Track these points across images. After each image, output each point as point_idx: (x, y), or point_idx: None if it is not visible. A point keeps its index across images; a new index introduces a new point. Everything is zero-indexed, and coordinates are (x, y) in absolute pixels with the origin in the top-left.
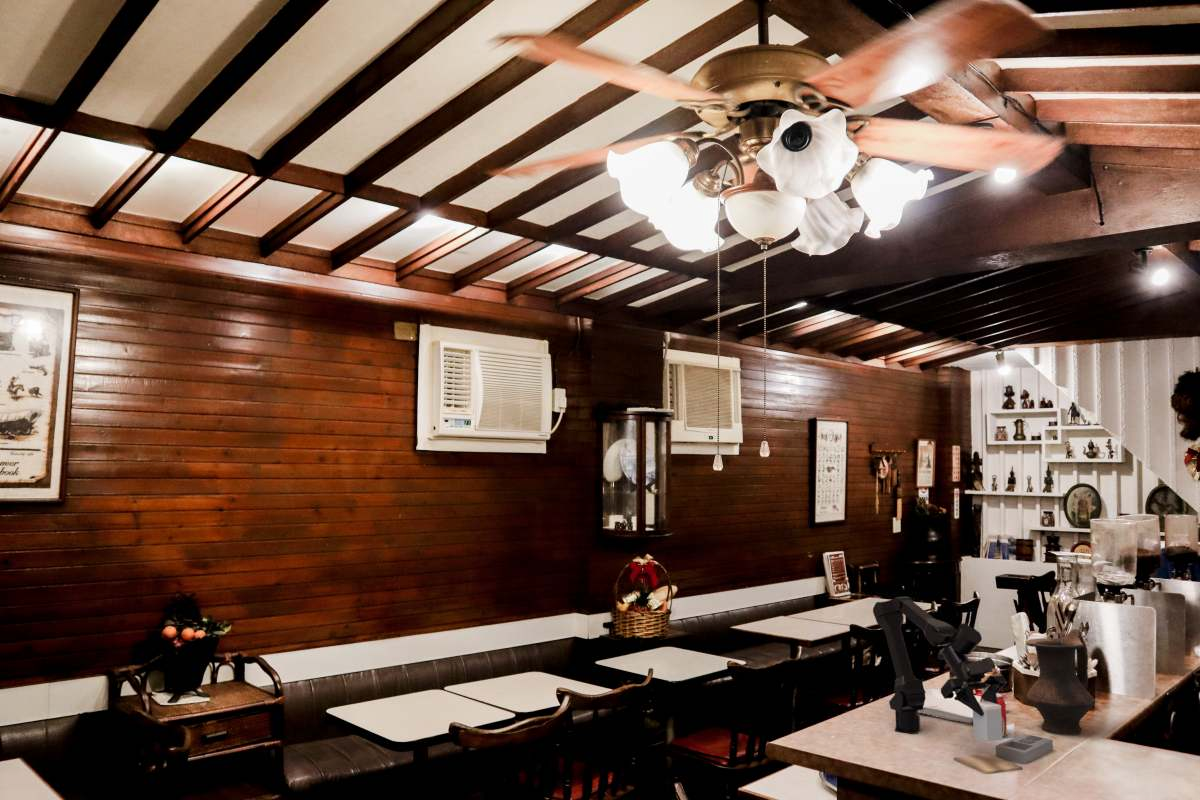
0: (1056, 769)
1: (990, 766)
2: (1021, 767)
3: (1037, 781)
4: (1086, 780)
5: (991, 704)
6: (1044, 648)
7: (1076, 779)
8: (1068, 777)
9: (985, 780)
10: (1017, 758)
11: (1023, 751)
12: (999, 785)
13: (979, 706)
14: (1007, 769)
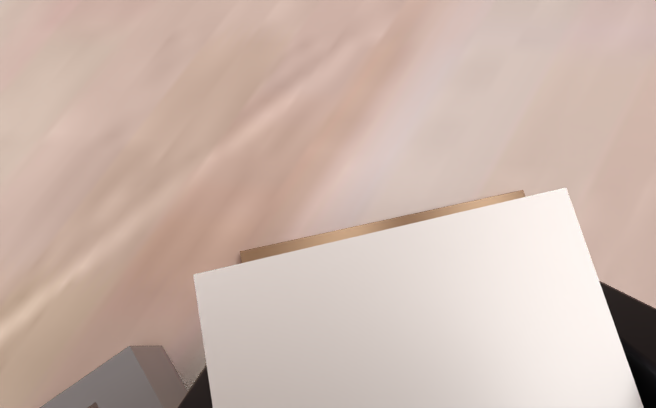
0: (49, 237)
1: None
2: (247, 250)
3: (285, 65)
4: (28, 66)
5: (342, 372)
6: None
7: (65, 82)
8: (82, 111)
9: (573, 95)
10: (177, 391)
11: (120, 376)
12: (530, 20)
13: (644, 334)
14: (354, 227)
